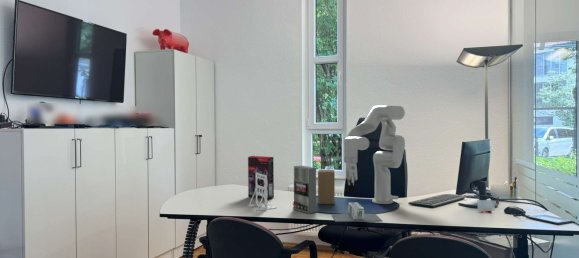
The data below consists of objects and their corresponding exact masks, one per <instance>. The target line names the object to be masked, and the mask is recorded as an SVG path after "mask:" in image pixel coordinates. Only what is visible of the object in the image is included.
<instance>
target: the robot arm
mask: <svg viewBox="0 0 579 258" xmlns="http://www.w3.org/2000/svg"><path fill="white" fill-rule="evenodd" d="M405 115H406V111H405V109H404V107H403V106H401V105H388V104H387V105H374V106H373V107H372V108H371V109H370V111H369V112H368V114H367V115H366V117H365V119H364V120H363V121H362V122H361V123H359V124H358V125H356V126H355V127H353V128H352V129H351V130H350V131H349V132H348V134H347V136H346V137H345V138H344V139H343V163H345V178H346V179H347V192H348V193H355V181H357V180H358V167H357V163H359V162H358V160H359V157H358V152H359V150H360V151H364V150H367V149H368V148H369V147H370V140H369V138H367V137H365V136H364V135H367V134H369V133H373V132H374V131H376V130H377V128H378V127H379V125H380V123H381V132H380V136H379V142H378V146H379V148H380V149H382V150H378V151H376V152H375V153H373V156H372V161H373V162H372V163H373V166H374V198H372V199H371V201H372V203H374V204H379V205H389V204H393V203H394V200H399V196H398V195H392V194H391V171H390V168H392V169H393V168H394V169H397V168H399V167H400V166H401V165H402V161H403V158H404V152H405V148H406V140H405V137H404V136H403V135H400V134H396V132H397V127H396V125H395V123H394V121H397V120H398V121H400V120H403V119H404V117H405Z"/></svg>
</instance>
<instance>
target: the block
mask: <svg viewBox="0 0 579 258" xmlns="http://www.w3.org/2000/svg"><path fill="white" fill-rule="evenodd" d="M335 181H336V180H335V170H334V169H318V170H317V202H318V203H317V204H318V205H335V196H336V195H335V188H336V187H335V186H336V185H335Z"/></svg>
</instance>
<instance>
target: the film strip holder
mask: <svg viewBox="0 0 579 258" xmlns="http://www.w3.org/2000/svg"><path fill="white" fill-rule="evenodd" d="M255 175H256V188H255V192H256V198H255V203H252V201H253V198H254V194H255V192H254V194H253V196H252V197H251V199H250V201H249V203H248V205H247V206H246V207H247V208H253V207H257V209H255V211H256V212H260V211H261V212H262V211H267V210H275V209H278V207H277V206H274V205H271V204H270V203H268V200H269V199H267V197H268V192H267V175H263V174H259V173H256V174H255ZM257 175H258V177H257ZM259 175H260V177H259ZM261 176H262V178H261ZM263 177H264V179H263ZM258 178H259V179H263V180H264V187H262V186H259V185H258V183H257V179H258ZM258 188H259V192H258ZM260 189H261V193H260ZM263 190H264V194H263ZM258 195H260V196H263V197H264V199H263V197H262V198H260V199H261V200H260V201H259V200H258V199H259V198H257V197H258ZM263 200H264V202H263V203H262V201H263ZM252 206H253V207H252Z"/></svg>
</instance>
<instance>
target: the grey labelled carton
mask: <svg viewBox="0 0 579 258" xmlns="http://www.w3.org/2000/svg"><path fill="white" fill-rule="evenodd" d="M292 209H293V210H295V211H299V212H302V213H306V214H307V215H310V214H313V213H317V211H318V210H317V168H316V167H313V166H306V165H294V166H293V207H292Z"/></svg>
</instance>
